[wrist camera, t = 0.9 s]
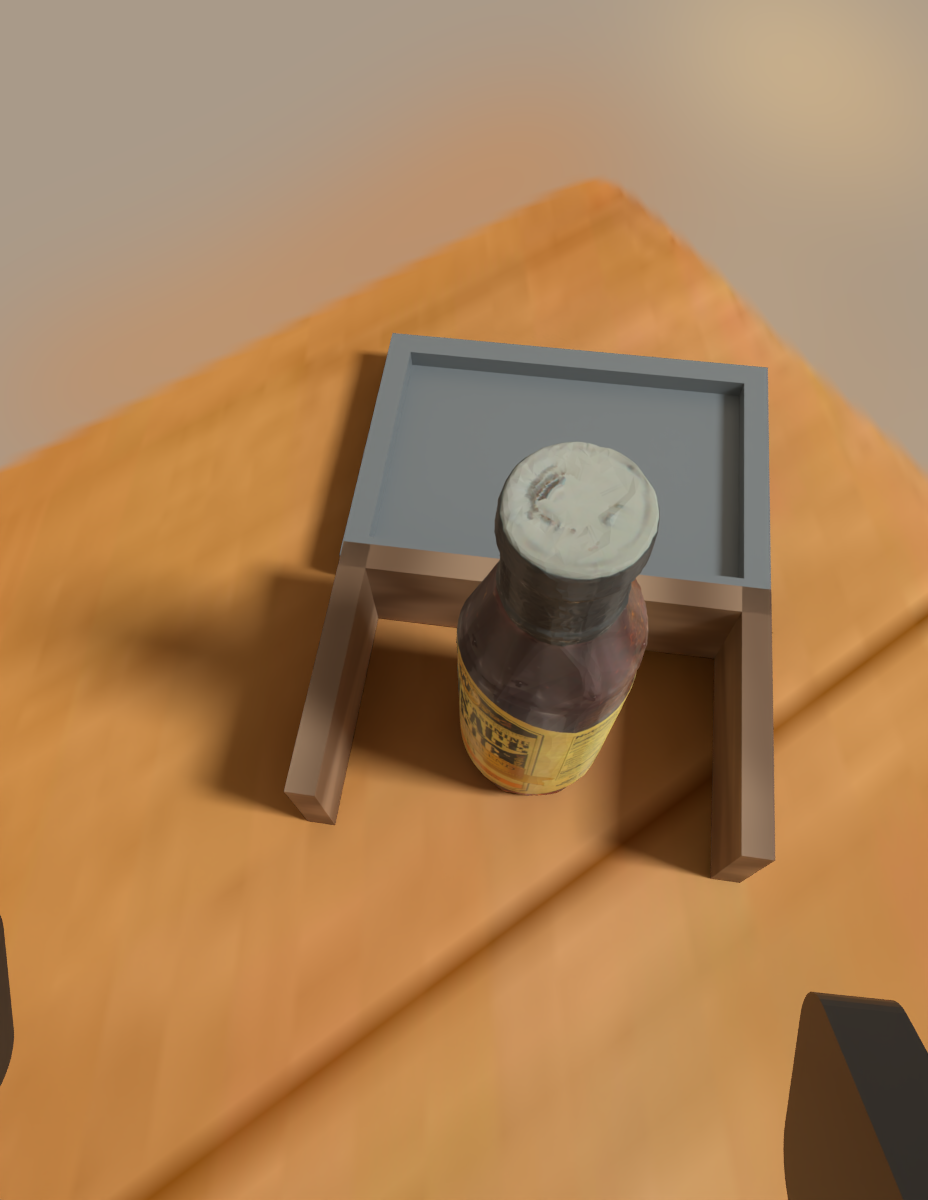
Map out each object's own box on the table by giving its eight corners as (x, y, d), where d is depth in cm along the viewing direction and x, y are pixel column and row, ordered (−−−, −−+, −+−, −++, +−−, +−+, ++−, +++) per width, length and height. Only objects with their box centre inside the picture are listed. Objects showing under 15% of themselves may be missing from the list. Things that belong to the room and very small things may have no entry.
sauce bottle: (441, 699, 40) (404, 429, 22) (565, 652, 41) (623, 357, 23) (495, 833, 37) (501, 645, 20) (627, 780, 38) (746, 554, 21)
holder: (307, 821, 38) (283, 791, 33) (358, 593, 43) (343, 541, 38) (739, 882, 36) (775, 860, 32) (740, 638, 41) (771, 589, 37)
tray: (346, 577, 43) (339, 555, 41) (396, 361, 49) (392, 332, 47) (757, 625, 41) (771, 604, 39) (756, 395, 48) (767, 367, 46)
